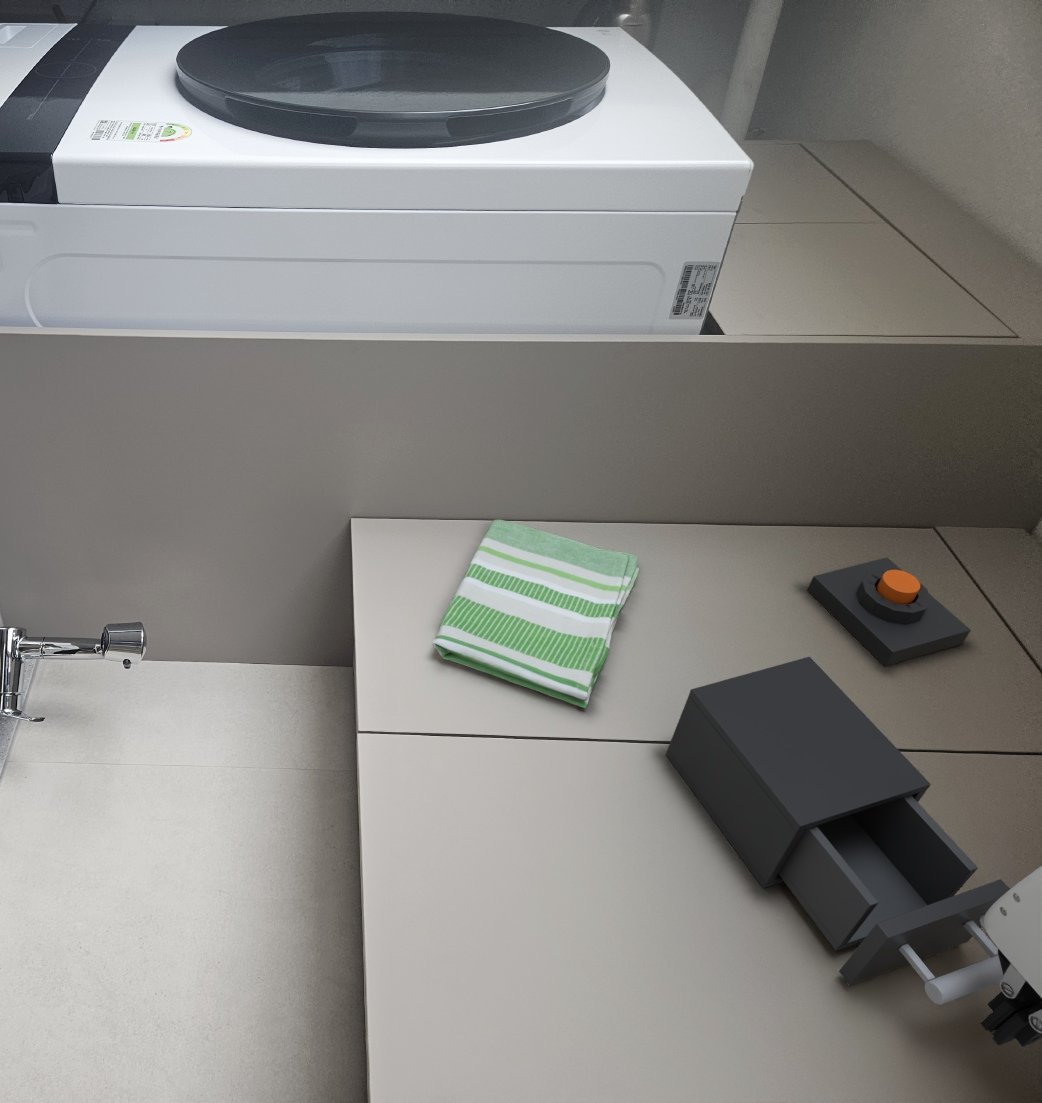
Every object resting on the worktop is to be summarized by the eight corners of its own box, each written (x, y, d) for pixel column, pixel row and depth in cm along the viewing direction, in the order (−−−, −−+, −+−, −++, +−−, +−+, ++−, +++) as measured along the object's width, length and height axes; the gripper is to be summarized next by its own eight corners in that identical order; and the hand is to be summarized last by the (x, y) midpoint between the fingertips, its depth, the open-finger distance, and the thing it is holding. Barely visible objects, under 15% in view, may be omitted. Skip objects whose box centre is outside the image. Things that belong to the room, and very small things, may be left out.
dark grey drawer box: (885, 847, 84) (931, 784, 77) (762, 888, 81) (800, 826, 75) (776, 721, 94) (809, 656, 88) (665, 754, 91) (690, 689, 85)
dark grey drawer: (1011, 993, 73) (1064, 946, 68) (890, 1041, 71) (934, 995, 66) (848, 803, 86) (882, 751, 81) (740, 838, 84) (767, 786, 78)
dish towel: (639, 570, 111) (644, 552, 109) (591, 714, 95) (596, 697, 93) (491, 527, 117) (493, 510, 115) (422, 657, 101) (424, 639, 99)
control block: (962, 644, 101) (979, 617, 99) (884, 666, 99) (899, 640, 97) (879, 571, 110) (893, 545, 107) (806, 590, 108) (819, 564, 105)
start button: (921, 600, 101) (928, 588, 100) (893, 607, 101) (900, 596, 99) (896, 578, 104) (902, 566, 103) (869, 585, 103) (875, 573, 102)
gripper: (1340, 1001, 51) (1143, 1121, 63) (1090, 777, 62) (963, 917, 74) (1236, 1047, 49) (1055, 1161, 61) (998, 808, 60) (884, 946, 72)
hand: (1005, 1027), depth 68 cm, fingers closed
